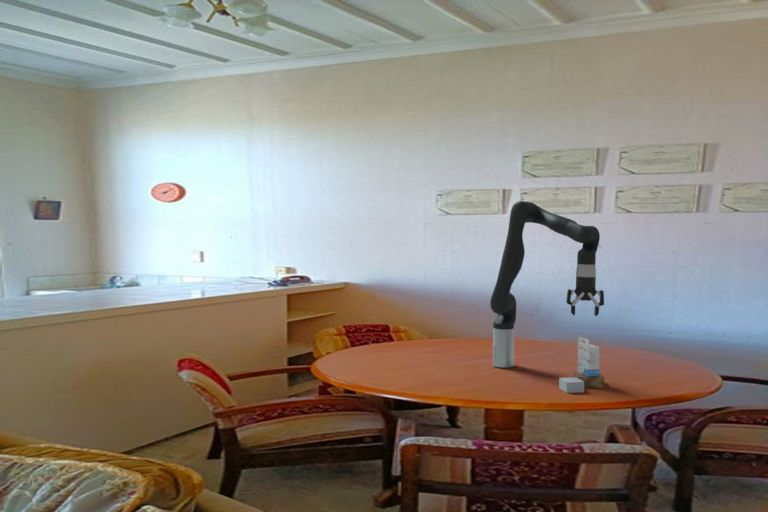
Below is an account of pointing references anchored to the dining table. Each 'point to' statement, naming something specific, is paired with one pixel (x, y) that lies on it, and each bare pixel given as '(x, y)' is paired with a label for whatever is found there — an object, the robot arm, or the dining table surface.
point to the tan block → (590, 380)
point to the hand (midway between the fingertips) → (584, 315)
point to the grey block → (571, 385)
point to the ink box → (588, 358)
